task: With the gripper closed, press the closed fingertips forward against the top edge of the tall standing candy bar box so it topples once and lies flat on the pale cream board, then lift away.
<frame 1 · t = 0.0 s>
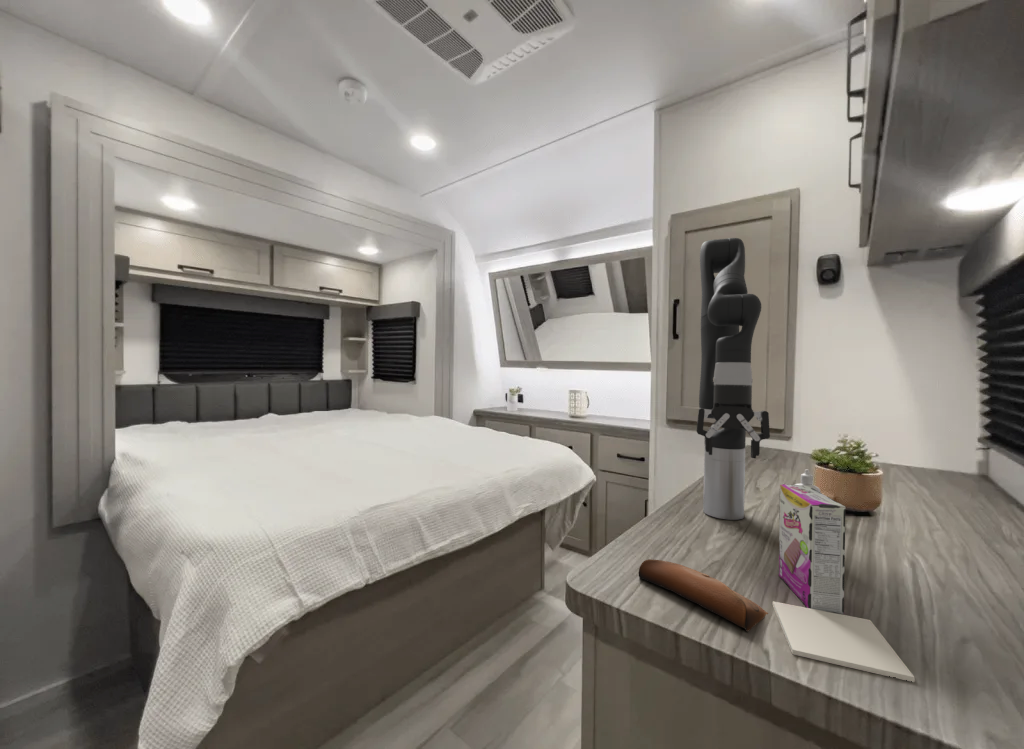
hand: (731, 456, 92), 17 cm above the counter, tool pointing down, fingers open, 8 cm apart
shoe polish box: (797, 550, 84), on the counter
eye dropper bottle: (805, 518, 103), on the counter
candy bar box: (807, 595, 67), on the counter
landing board: (833, 638, 56), on the counter
sunglasses case: (699, 599, 66), on the counter
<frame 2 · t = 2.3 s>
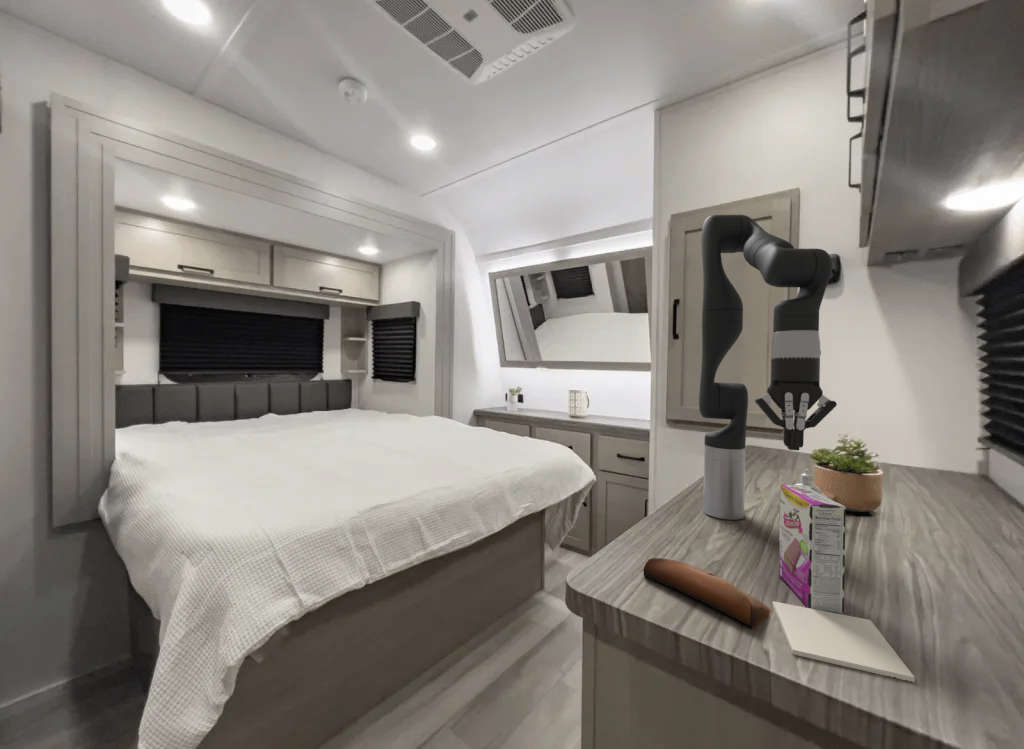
hand: (793, 449, 77), 22 cm above the counter, tool pointing down, fingers closed
sunglasses case: (704, 597, 67), on the counter
everything else where it was.
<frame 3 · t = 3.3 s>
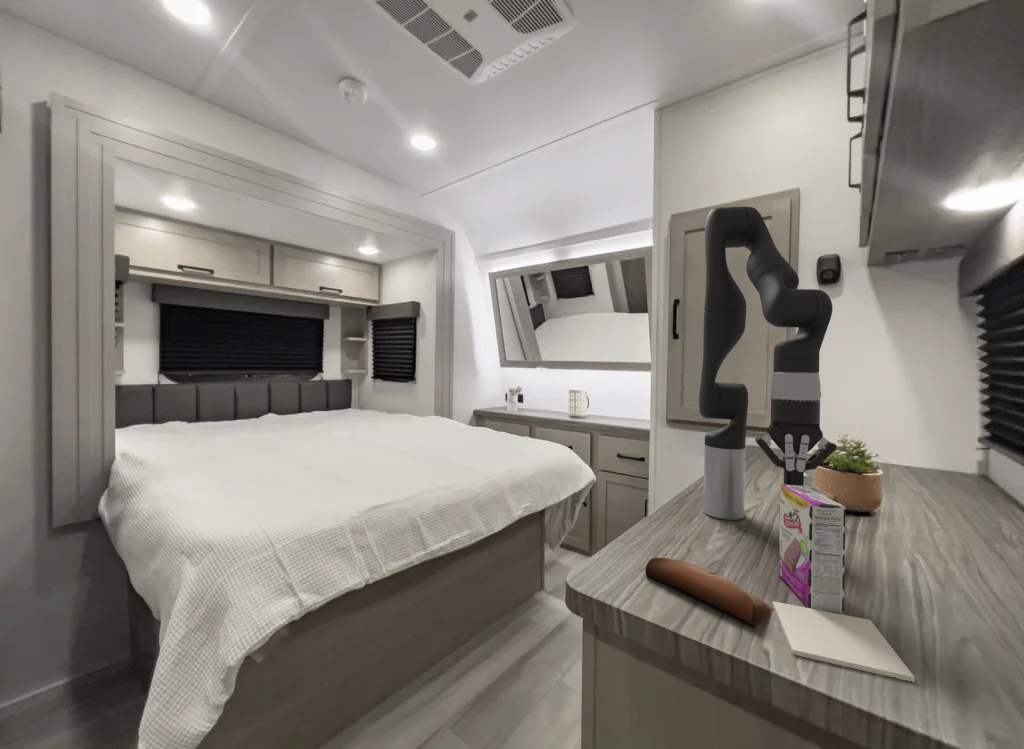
hand: (793, 490, 77), 14 cm above the counter, tool pointing down, fingers closed
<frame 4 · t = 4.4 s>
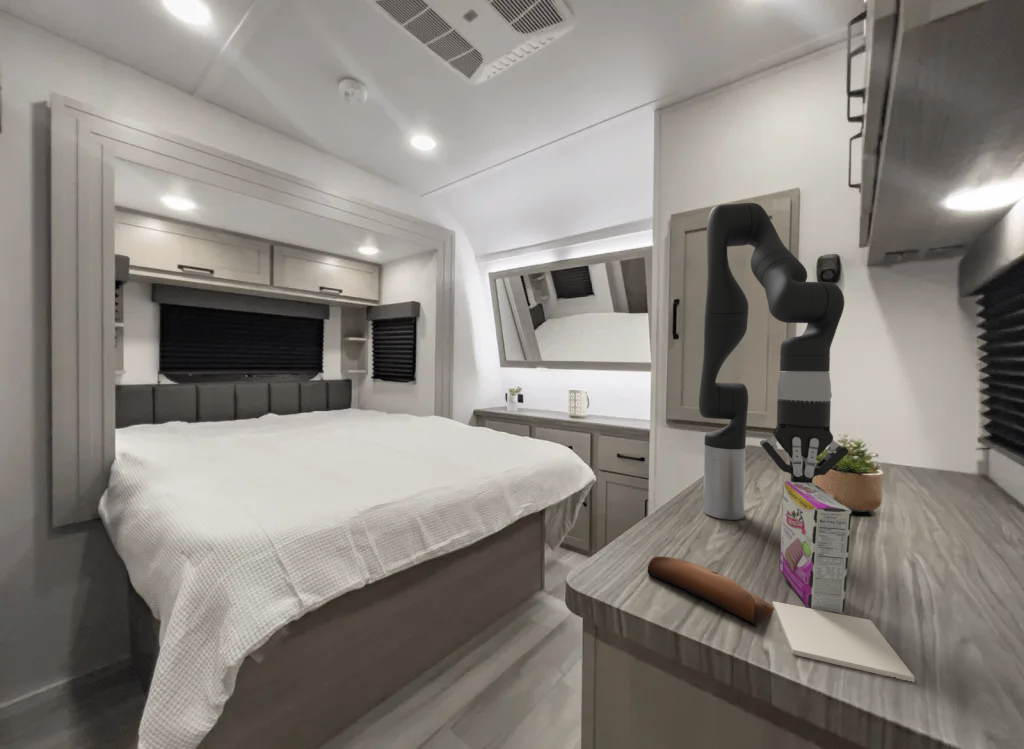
hand: (800, 497, 72), 14 cm above the counter, tool pointing down, fingers closed
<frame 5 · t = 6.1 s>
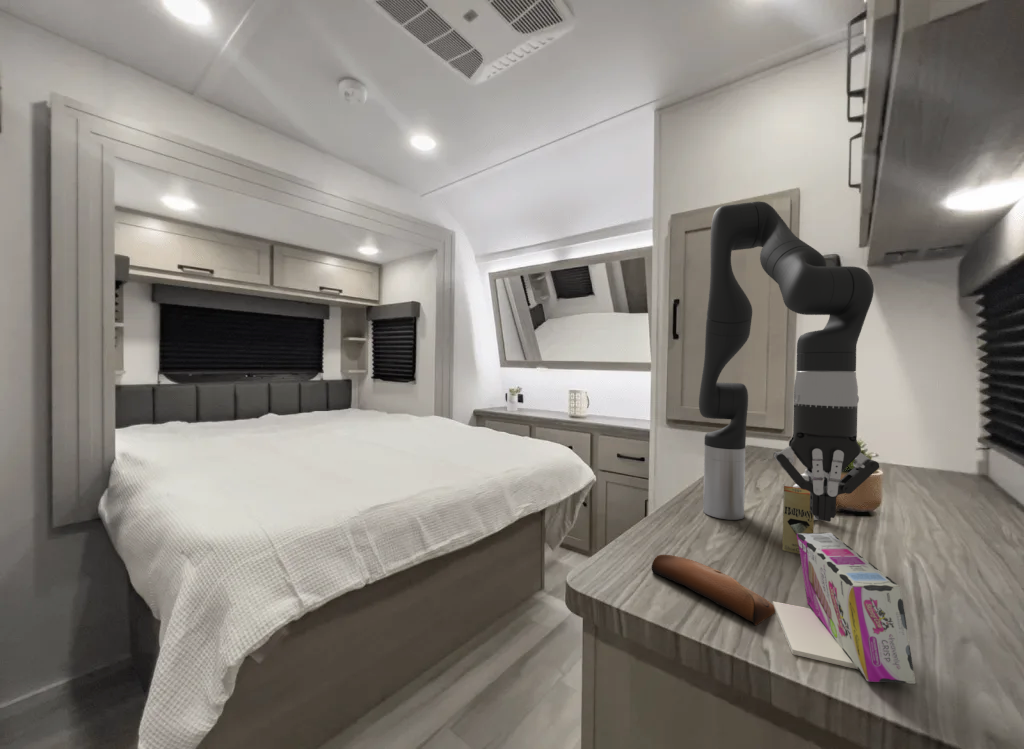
hand: (822, 519, 61), 14 cm above the counter, tool pointing down, fingers closed
candy bar box: (817, 568, 63), point 6 cm above the counter, touching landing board
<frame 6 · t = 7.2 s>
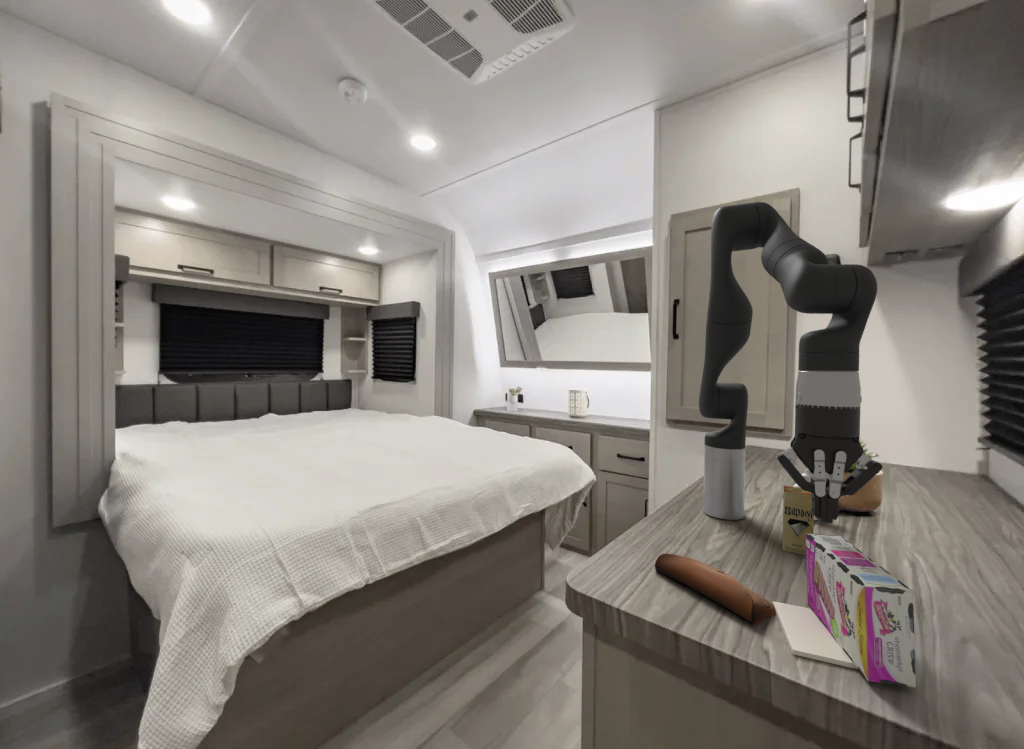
hand: (824, 520, 60), 14 cm above the counter, tool pointing down, fingers closed
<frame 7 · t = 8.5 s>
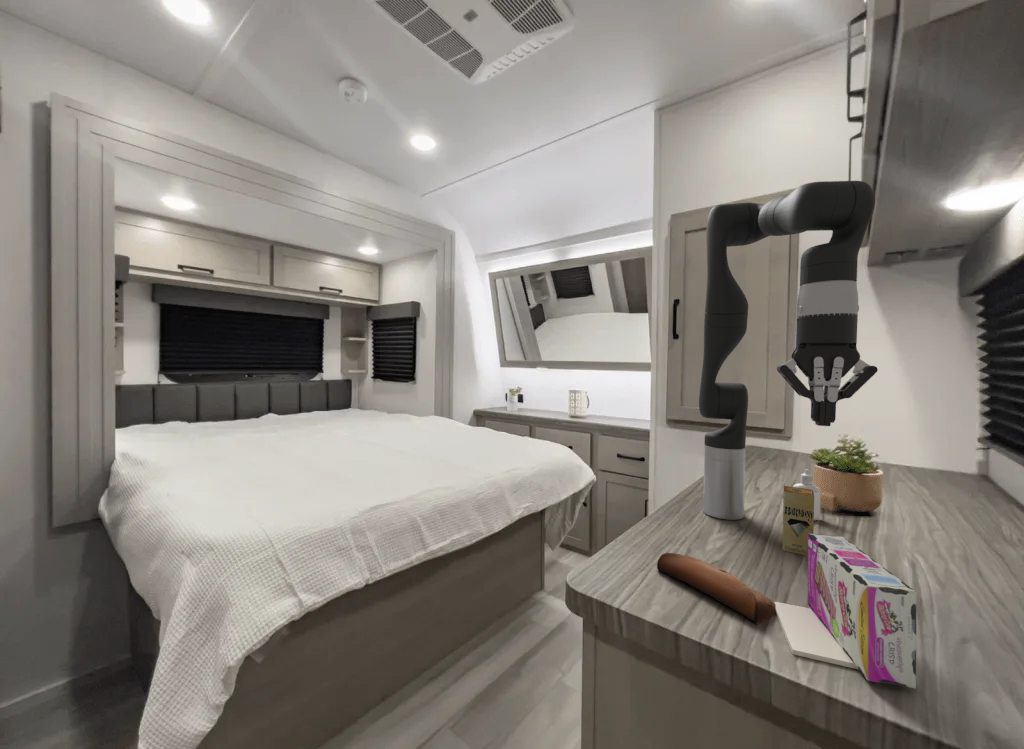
hand: (822, 425, 65), 28 cm above the counter, tool pointing down, fingers closed
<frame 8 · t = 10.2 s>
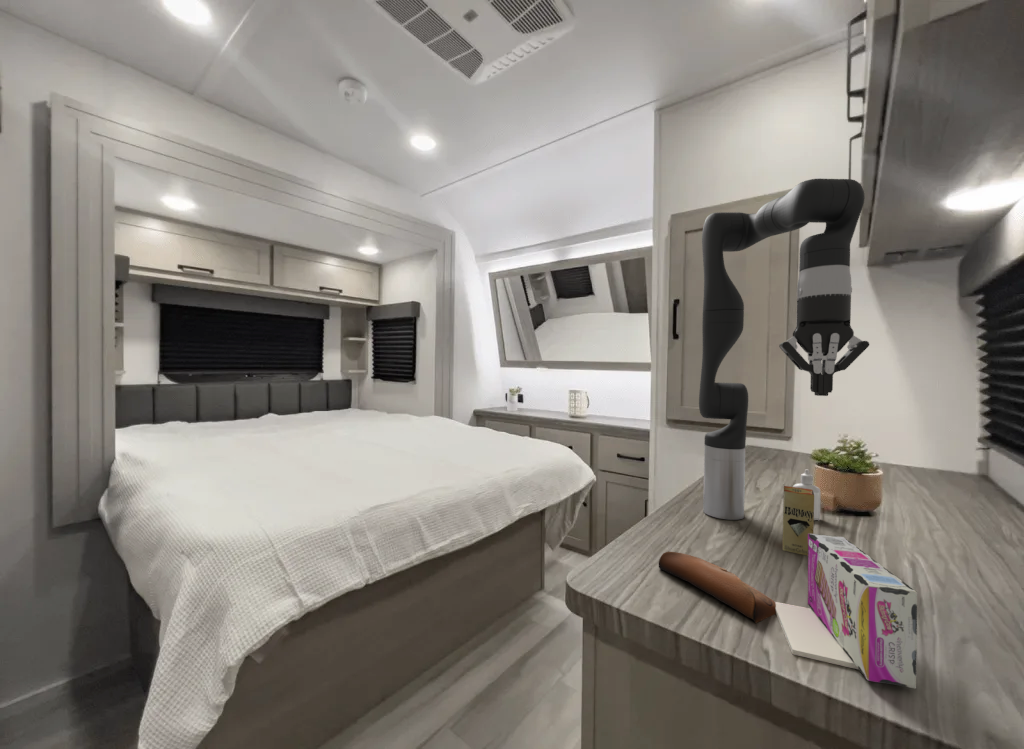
hand: (820, 395, 72), 32 cm above the counter, tool pointing down, fingers closed
at the end: candy bar box tilted 89°; candy bar box inside the target area (4.0 cm from its centre), point 6.0 cm above the counter; candy bar box touching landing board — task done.
